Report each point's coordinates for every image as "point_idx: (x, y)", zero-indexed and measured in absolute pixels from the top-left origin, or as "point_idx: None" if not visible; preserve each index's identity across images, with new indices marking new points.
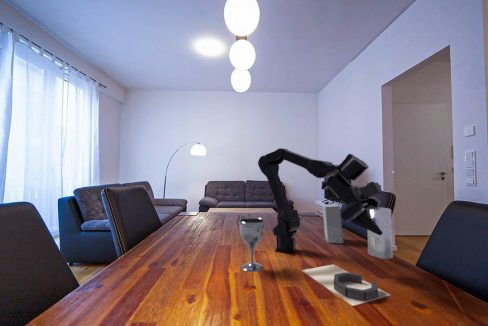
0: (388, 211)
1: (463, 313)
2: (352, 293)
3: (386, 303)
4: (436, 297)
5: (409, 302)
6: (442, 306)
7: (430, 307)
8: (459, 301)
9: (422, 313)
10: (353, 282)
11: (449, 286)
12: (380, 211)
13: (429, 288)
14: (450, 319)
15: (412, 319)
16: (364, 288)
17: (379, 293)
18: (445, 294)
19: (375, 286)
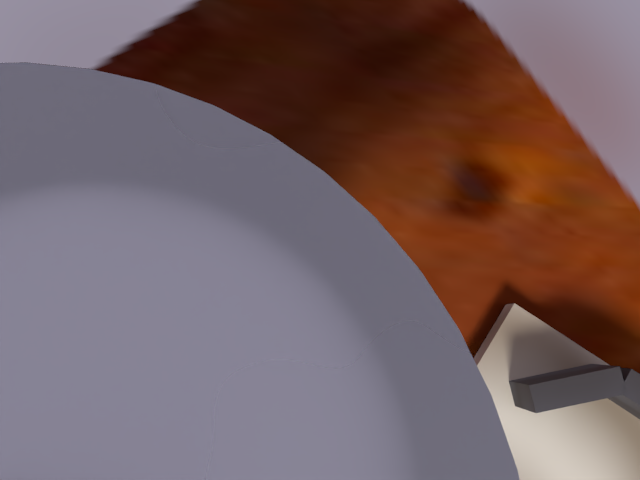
0: (290, 168)
1: (435, 35)
2: None
3: (565, 324)
4: (338, 112)
5: (479, 225)
6: (422, 99)
7: (468, 145)
8: (319, 30)
9: (551, 179)
10: None
11: (154, 43)
12: (508, 462)
13: None
14: (526, 86)
15: (634, 218)
16: (532, 445)
17: (538, 360)
18: (274, 72)
19: (598, 381)
